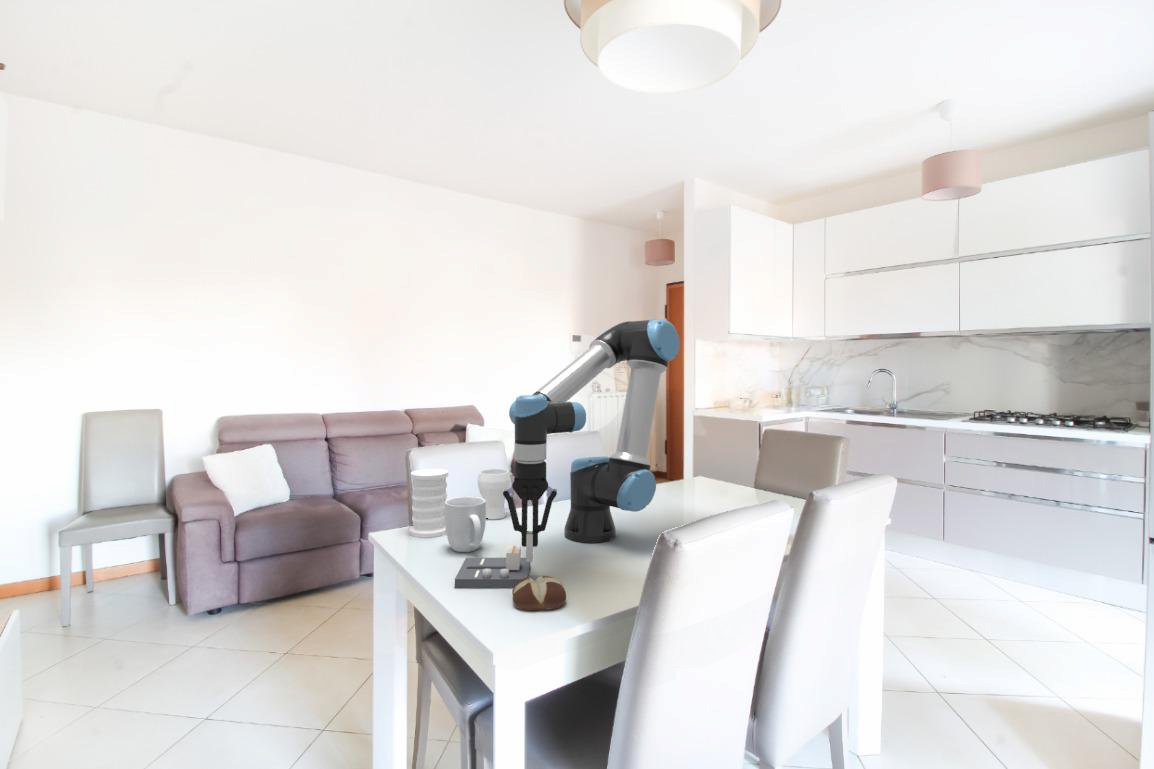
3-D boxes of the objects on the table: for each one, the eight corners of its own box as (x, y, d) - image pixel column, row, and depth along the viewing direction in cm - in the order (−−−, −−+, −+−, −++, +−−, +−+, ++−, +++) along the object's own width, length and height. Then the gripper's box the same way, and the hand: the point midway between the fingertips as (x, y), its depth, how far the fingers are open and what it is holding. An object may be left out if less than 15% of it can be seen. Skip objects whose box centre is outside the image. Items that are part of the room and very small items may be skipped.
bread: (567, 612, 113) (567, 587, 112) (510, 613, 112) (511, 589, 112) (564, 590, 124) (564, 568, 124) (513, 591, 123) (513, 569, 123)
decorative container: (418, 540, 157) (418, 477, 157) (403, 530, 166) (403, 471, 166) (456, 532, 164) (456, 472, 164) (439, 524, 174) (439, 467, 173)
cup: (473, 520, 178) (473, 473, 178) (483, 511, 189) (484, 468, 188) (504, 521, 177) (504, 475, 176) (513, 513, 187) (514, 469, 187)
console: (530, 565, 138) (530, 551, 138) (526, 588, 124) (526, 572, 124) (466, 565, 138) (466, 551, 138) (454, 587, 124) (454, 572, 124)
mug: (498, 554, 146) (498, 505, 145) (458, 562, 140) (458, 511, 139) (476, 539, 158) (476, 494, 158) (438, 546, 152) (438, 499, 152)
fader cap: (520, 562, 133) (520, 545, 133) (518, 570, 128) (519, 552, 128) (508, 562, 133) (508, 545, 133) (506, 570, 128) (506, 552, 128)
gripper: (558, 458, 134) (557, 554, 135) (504, 458, 134) (503, 554, 134) (557, 463, 126) (556, 565, 127) (500, 463, 126) (500, 565, 127)
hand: (529, 559), depth 131 cm, fingers closed
